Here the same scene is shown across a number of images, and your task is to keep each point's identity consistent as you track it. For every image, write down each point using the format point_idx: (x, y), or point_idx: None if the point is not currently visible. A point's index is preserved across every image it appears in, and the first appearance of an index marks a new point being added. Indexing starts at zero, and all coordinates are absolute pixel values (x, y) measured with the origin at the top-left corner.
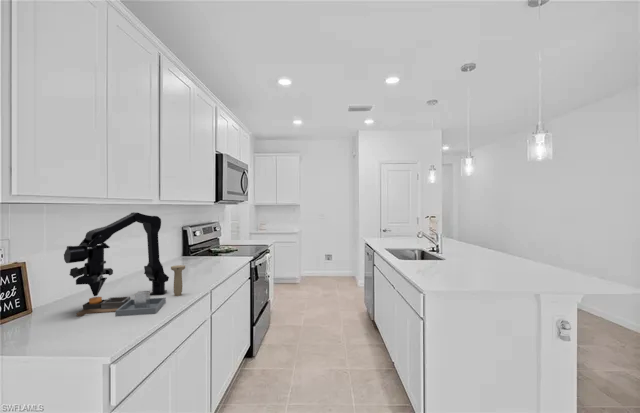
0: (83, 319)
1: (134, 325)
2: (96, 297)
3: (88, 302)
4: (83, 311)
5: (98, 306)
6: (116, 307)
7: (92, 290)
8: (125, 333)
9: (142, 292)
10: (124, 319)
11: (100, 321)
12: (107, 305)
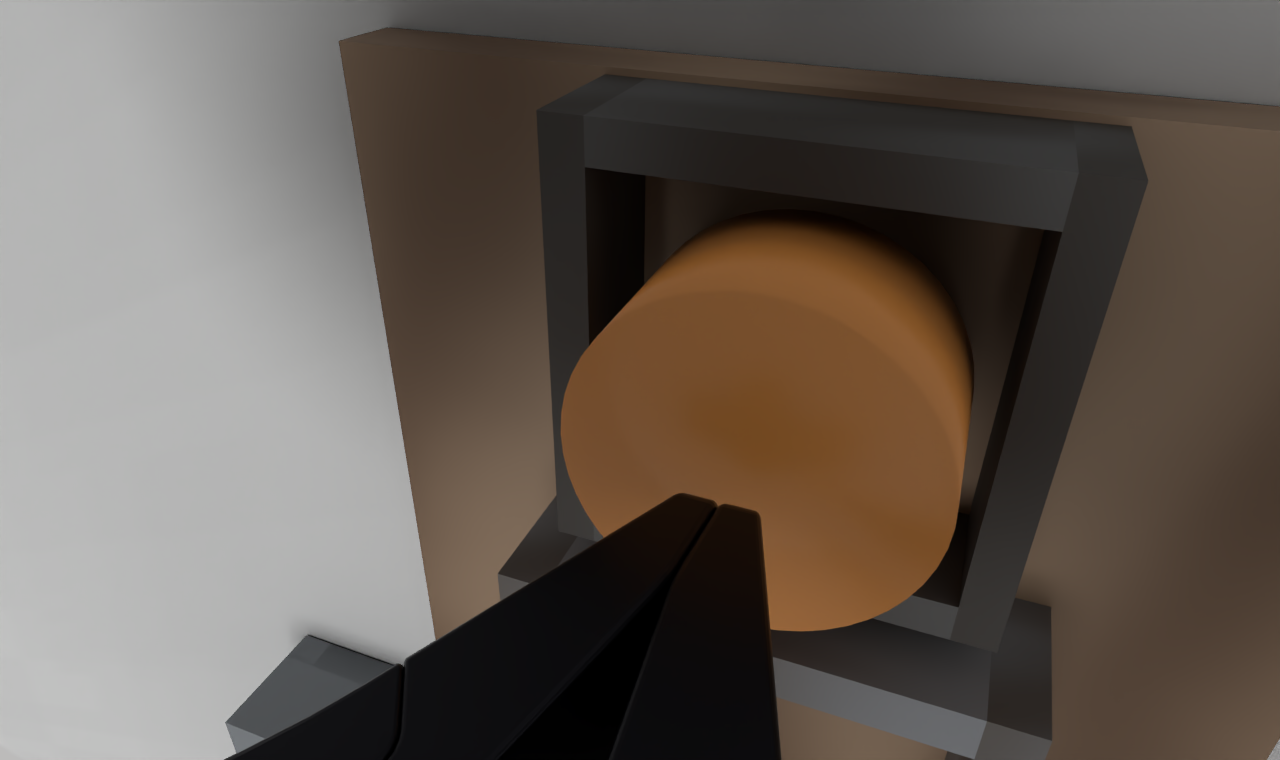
0: (243, 244)
1: (150, 752)
2: (837, 495)
3: (807, 194)
4: (461, 154)
5: None
6: None
7: (475, 652)
8: (7, 685)
9: None
10: None
11: (198, 492)
12: None
